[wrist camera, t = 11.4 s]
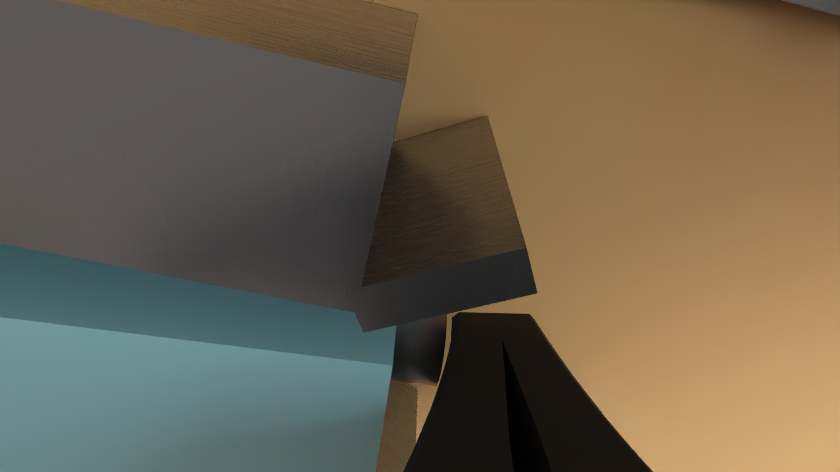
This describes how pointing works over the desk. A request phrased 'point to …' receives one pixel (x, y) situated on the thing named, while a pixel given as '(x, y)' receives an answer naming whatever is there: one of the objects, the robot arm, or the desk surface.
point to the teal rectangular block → (189, 374)
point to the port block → (252, 160)
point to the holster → (819, 5)
